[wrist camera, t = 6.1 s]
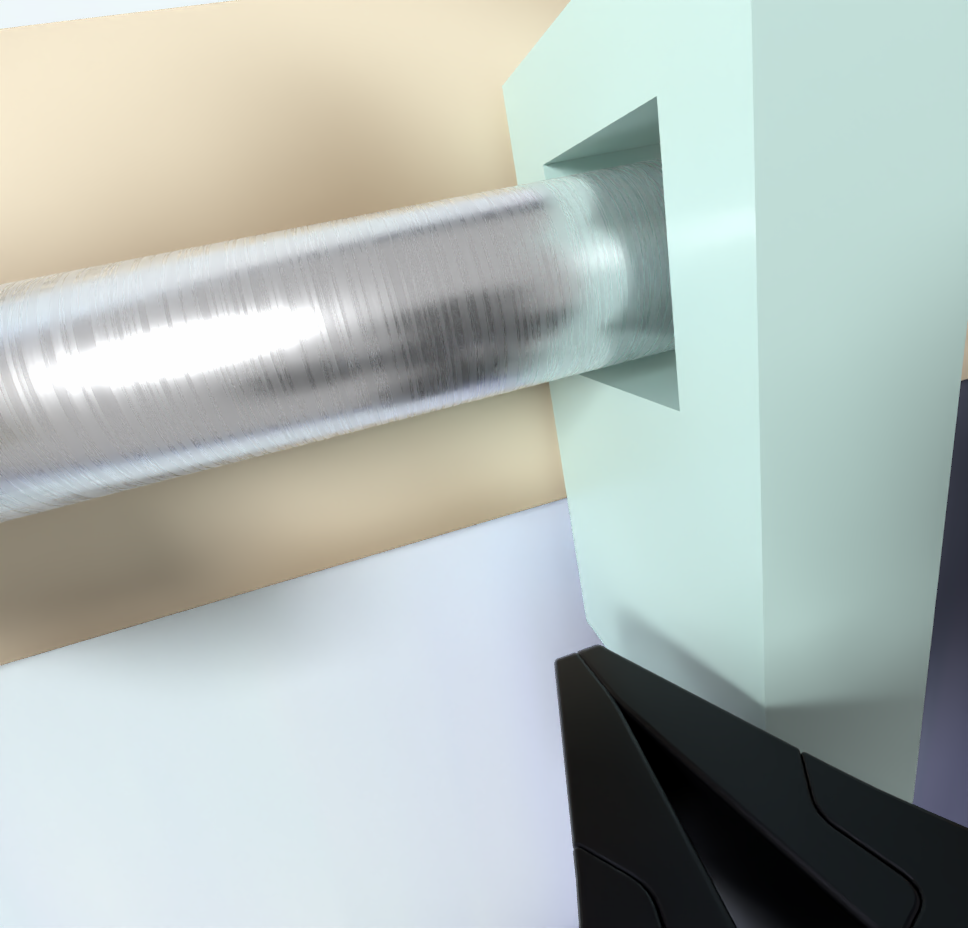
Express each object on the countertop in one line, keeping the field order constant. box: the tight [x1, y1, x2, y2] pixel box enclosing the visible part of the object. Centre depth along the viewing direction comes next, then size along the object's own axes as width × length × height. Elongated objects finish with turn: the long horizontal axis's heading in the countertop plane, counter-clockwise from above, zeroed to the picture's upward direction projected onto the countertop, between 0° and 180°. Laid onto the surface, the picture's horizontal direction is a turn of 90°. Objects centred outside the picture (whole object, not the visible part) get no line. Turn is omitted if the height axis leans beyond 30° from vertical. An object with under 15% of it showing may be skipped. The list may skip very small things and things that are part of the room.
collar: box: [502, 0, 968, 803], centre depth 9 cm, size 11×2×6 cm, turn 12°
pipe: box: [0, 158, 675, 523], centre depth 8 cm, size 3×30×3 cm, turn 102°
